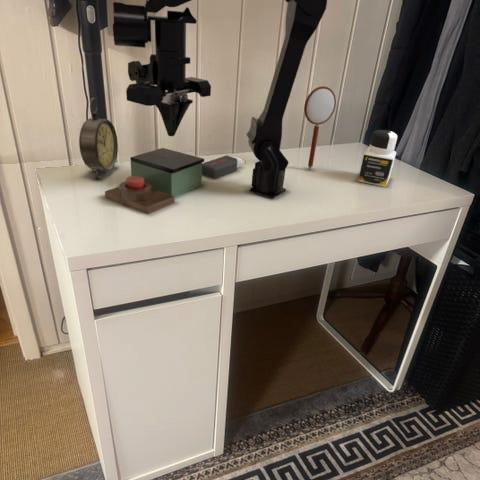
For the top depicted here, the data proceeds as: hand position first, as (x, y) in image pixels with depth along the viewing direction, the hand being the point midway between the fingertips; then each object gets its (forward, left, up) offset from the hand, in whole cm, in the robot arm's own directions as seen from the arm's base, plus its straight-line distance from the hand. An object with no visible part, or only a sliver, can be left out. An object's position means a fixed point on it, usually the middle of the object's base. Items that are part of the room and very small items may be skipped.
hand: (171, 135), depth 96 cm
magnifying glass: (-16, -37, -12) cm, 42 cm away
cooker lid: (+2, -2, -6) cm, 7 cm away
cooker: (+3, -2, -12) cm, 12 cm away
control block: (+1, +9, -12) cm, 15 cm away
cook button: (+1, +10, -8) cm, 13 cm away
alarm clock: (+19, +3, -12) cm, 22 cm away
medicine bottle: (-32, -42, -12) cm, 54 cm away
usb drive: (0, -19, -12) cm, 22 cm away
